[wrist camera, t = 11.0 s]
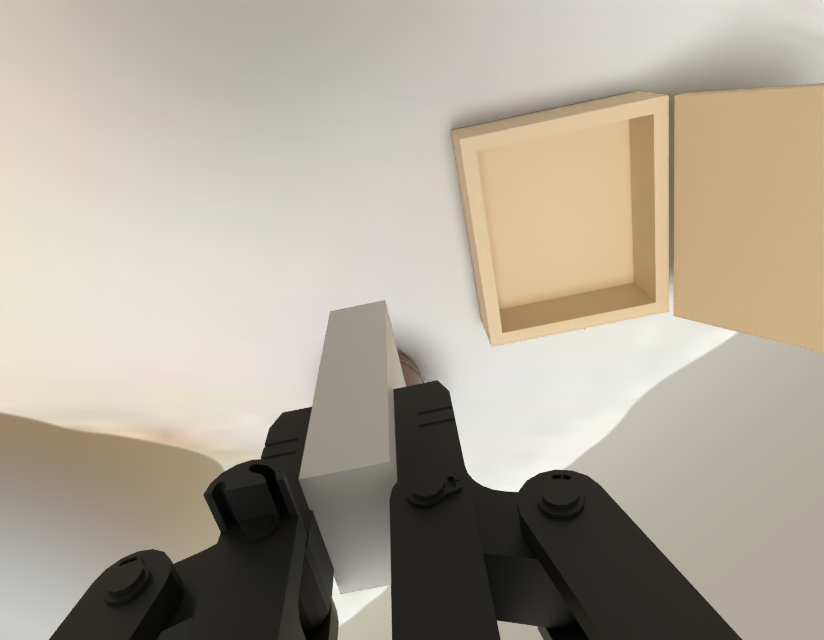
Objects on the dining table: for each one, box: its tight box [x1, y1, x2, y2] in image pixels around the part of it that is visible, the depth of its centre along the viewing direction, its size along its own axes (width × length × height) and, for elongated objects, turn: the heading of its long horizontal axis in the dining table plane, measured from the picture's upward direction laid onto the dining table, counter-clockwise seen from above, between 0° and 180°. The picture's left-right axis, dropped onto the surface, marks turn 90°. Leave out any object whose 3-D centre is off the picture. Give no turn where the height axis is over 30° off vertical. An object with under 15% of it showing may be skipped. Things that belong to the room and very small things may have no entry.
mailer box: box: [451, 90, 669, 347], centre depth 43 cm, size 16×14×5 cm
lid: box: [674, 83, 824, 353], centre depth 35 cm, size 16×14×4 cm
